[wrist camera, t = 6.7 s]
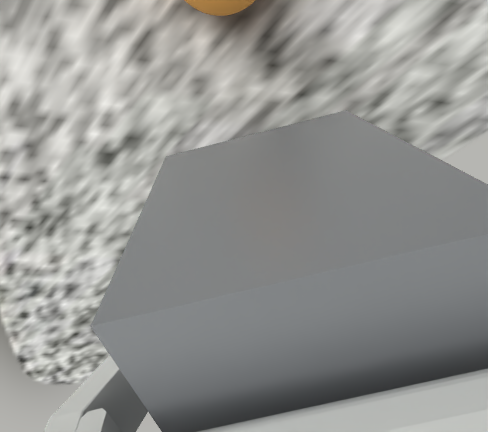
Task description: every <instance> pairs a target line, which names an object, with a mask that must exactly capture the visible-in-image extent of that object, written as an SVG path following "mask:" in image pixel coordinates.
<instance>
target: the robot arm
mask: <svg viewBox="0 0 488 432" xmlns="http://www.w3.org/2000/svg"><path fill="white" fill-rule="evenodd" d="M147 412H148V410H147V409H146V407H145V406H144V405H143V403H142V402H141V400H140V399H139V397H138V396H137V394H136V393H135V391H134V390H133V388H132V387H131V385H130V384H129V382H128V381H127V379H126V378H125V376H124V375H123V374H122V372H121V371H120V369H119V368H118V366H117V365H116V363H115V362H114V360H113V359H112V357H111V356H110V355H109V356H108V357H107V358H106V359H105V361H104V362H103V363H102V364H101V365H100V366H99V367H98V368H97V369H96V370H95V371H94V372H93V373H92V374H91V375H90V376H89V377H88V378H87V379H86V381H85V382H84V383H83V384H82V385H81V386H80V387H79V388H78V389H77V390H76V391H75V392H74V393H73V394H72V395H71V396H70V398H69V399H67V401H66V402H65V403H64V404H63V405H62V406H61V407H60V408H59V409H58V410H57V411H56V412H55V413H54V414H53V415H52V416H51V417H50V419H49V421H48V423H47V426H46V428H45V430H44V432H136V430H137V428H138V427H139V426H140V424H141V422H142V421H143V419H144V417H145V416H146V414H147ZM197 432H488V368H487V369H482V370H478V371H473V372H469V373H464V374H460V375H455V376H450V377H446V378H441V379H437V380H432V381H428V382H423V383H418V384H414V385H409V386H405V387H400V388H396V389H391V390H386V391H382V392H377V393H373V394H368V395H363V396H359V397H354V398H350V399H345V400H340V401H336V402H331V403H326V404H322V405H317V406H313V407H308V408H303V409H299V410H294V411H290V412H285V413H280V414H276V415H271V416H266V417H262V418H257V419H253V420H248V421H243V422H239V423H234V424H230V425H225V426H220V427H216V428H211V429H207V430H202V431H197Z"/></svg>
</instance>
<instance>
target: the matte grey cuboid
mask: <svg viewBox="0 0 488 432" xmlns="http://www.w3.org/2000/svg"><path fill="white" fill-rule="evenodd" d="M91 328H92V329H93V331H94V332H95V334H96V335H97V337H98V338H99V340H100V341H101V343H102V344H103V345H104V347H105V348H106V350H107V351H108V353H109V354H110V356H111V357H112V359H113V360H114V362H115V363H116V365H117V366H118V368H119V369H120V371H121V372H122V374H123V375H124V376H125V378H126V379H127V381H128V382H129V384H130V385H131V387H132V388H133V390H134V391H135V393H136V394H137V396H138V397H139V399H140V400H141V402H142V403H143V405H144V406H145V407H146V409H147V410H148V412H149V413H150V415H151V416H152V418H153V419H154V421H155V422H156V424H157V425H158V426H159V428H160V429H161V431H162V432H197V431H202V430H207V429H211V428H216V427H220V426H225V425H230V424H234V423H239V422H243V421H248V420H253V419H257V418H262V417H266V416H271V415H276V414H280V413H285V412H290V411H294V410H299V409H303V408H308V407H313V406H317V405H322V404H326V403H331V402H336V401H340V400H345V399H350V398H354V397H359V396H363V395H368V394H373V393H377V392H382V391H386V390H391V389H396V388H400V387H405V386H409V385H414V384H418V383H423V382H428V381H432V380H437V379H441V378H446V377H450V376H455V375H460V374H464V373H469V372H473V371H478V370H482V369H487V368H488V184H485V183H484V182H482V181H480V180H478V179H476V178H474V177H472V176H470V175H469V174H467V173H465V172H463V171H461V170H459V169H457V168H455V167H453V166H451V165H449V164H448V163H446V162H444V161H442V160H440V159H438V158H436V157H434V156H432V155H430V154H429V153H427V152H425V151H423V150H421V149H419V148H417V147H415V146H413V145H411V144H409V143H408V142H406V141H404V140H402V139H400V138H398V137H396V136H394V135H392V134H390V133H388V132H387V131H385V130H383V129H381V128H379V127H377V126H375V125H373V124H371V123H369V122H368V121H366V120H364V119H362V118H360V117H358V116H356V115H354V114H352V113H350V112H348V111H347V110H346V111H342V112H338V113H334V114H330V115H326V116H323V117H319V118H315V119H311V120H307V121H303V122H299V123H295V124H291V125H287V126H284V127H280V128H276V129H272V130H268V131H264V132H260V133H256V134H252V135H248V136H244V137H241V138H237V139H233V140H229V141H225V142H221V143H217V144H213V145H209V146H205V147H201V148H198V149H194V150H190V151H186V152H182V153H178V154H174V155H170V156H166V158H165V160H164V162H163V165H162V167H161V169H160V171H159V174H158V176H157V178H156V180H155V183H154V185H153V187H152V189H151V192H150V194H149V196H148V198H147V201H146V203H145V205H144V207H143V210H142V212H141V214H140V216H139V219H138V221H137V223H136V225H135V228H134V230H133V232H132V234H131V237H130V239H129V241H128V243H127V246H126V248H125V250H124V252H123V255H122V257H121V259H120V261H119V264H118V266H117V268H116V270H115V273H114V275H113V277H112V279H111V282H110V284H109V286H108V288H107V291H106V293H105V295H104V297H103V300H102V302H101V304H100V306H99V309H98V311H97V313H96V315H95V318H94V320H93V322H92V324H91Z"/></svg>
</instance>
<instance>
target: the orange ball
mask: <svg viewBox="0 0 488 432" xmlns="http://www.w3.org/2000/svg"><path fill="white" fill-rule="evenodd" d="M185 1H186V2H187V3H188V4H189V5H191V6H192V7H194V8H195V9H197V10H199V11H201V12H203V13H206V14H210V15H216V16H226V15H231V14H235V13H237V12H240V11H242V10H244V9H245V8H247V7H248V6H250V5H251V4H252V3H253V2H254V1H255V0H185Z"/></svg>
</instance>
